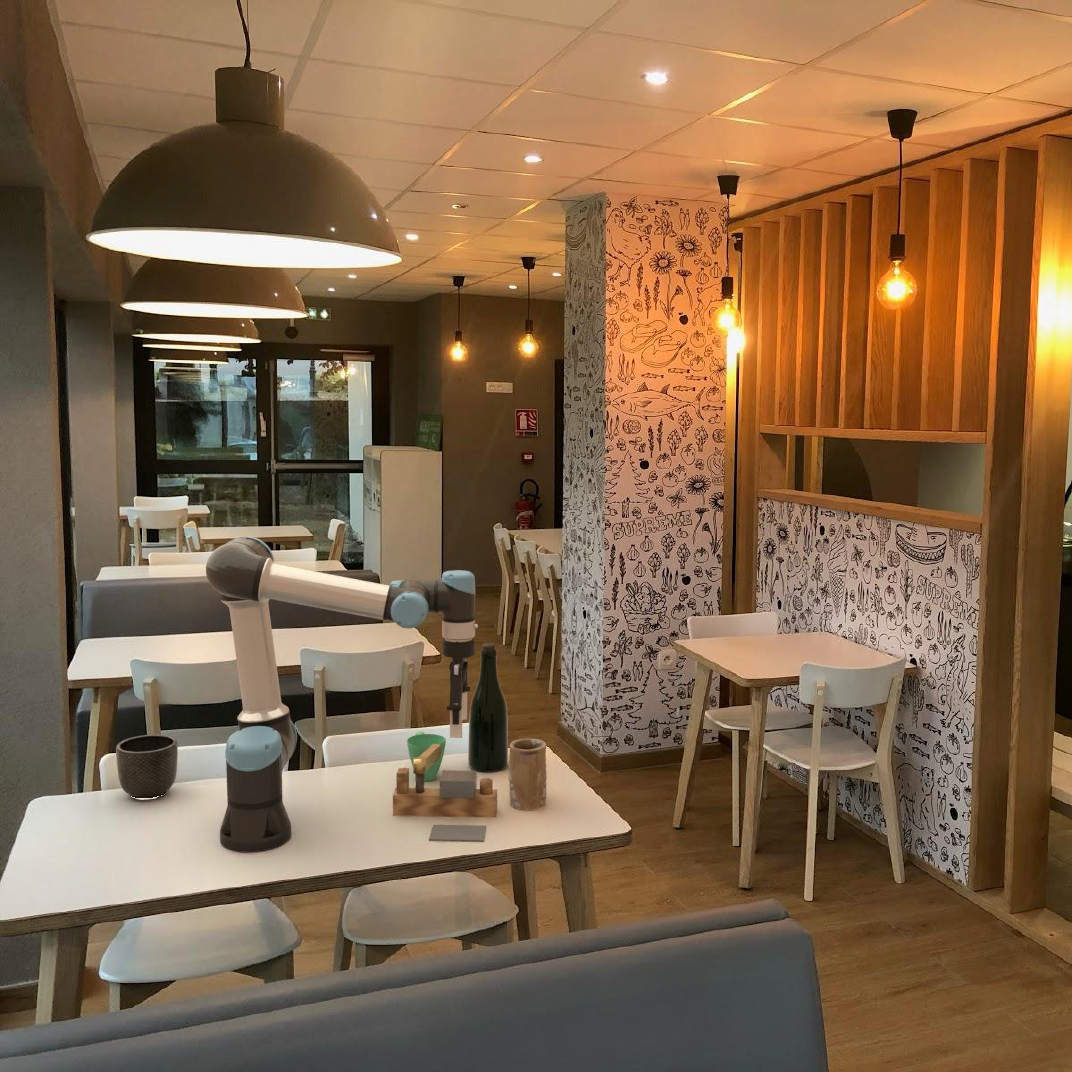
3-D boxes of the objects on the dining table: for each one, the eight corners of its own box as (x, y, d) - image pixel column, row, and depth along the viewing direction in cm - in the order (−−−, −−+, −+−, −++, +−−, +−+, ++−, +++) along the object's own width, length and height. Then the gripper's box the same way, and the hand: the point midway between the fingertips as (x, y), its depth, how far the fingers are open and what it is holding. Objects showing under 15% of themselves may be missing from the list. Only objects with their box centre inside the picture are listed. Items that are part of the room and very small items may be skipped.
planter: (143, 810, 241) (141, 756, 240) (105, 797, 249) (103, 745, 247) (191, 791, 253) (189, 740, 252) (153, 780, 261) (152, 730, 259)
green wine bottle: (467, 773, 268) (468, 648, 264) (468, 759, 279) (469, 639, 275) (507, 773, 269) (509, 648, 265) (507, 759, 279) (508, 639, 275)
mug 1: (449, 782, 262) (449, 744, 260) (411, 786, 259) (411, 747, 257) (436, 763, 275) (436, 726, 274) (400, 766, 272) (400, 730, 271)
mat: (428, 840, 226) (428, 839, 226) (433, 826, 234) (433, 824, 234) (483, 841, 226) (483, 840, 226) (486, 827, 234) (486, 825, 234)
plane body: (392, 815, 240) (392, 774, 239) (395, 807, 244) (395, 767, 243) (496, 817, 240) (496, 775, 238) (497, 809, 244) (497, 768, 243)
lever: (423, 775, 239) (423, 761, 239) (411, 774, 240) (411, 760, 239) (442, 756, 252) (442, 743, 252) (431, 755, 253) (431, 742, 252)
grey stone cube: (439, 797, 238) (439, 780, 237) (442, 786, 245) (442, 770, 244) (474, 798, 238) (474, 781, 237) (476, 787, 245) (476, 770, 244)
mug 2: (520, 813, 242) (521, 751, 240) (494, 795, 253) (494, 736, 251) (553, 806, 247) (554, 745, 245) (525, 789, 257) (526, 730, 256)
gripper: (470, 651, 224) (470, 745, 227) (479, 626, 249) (478, 712, 252) (436, 650, 224) (436, 745, 227) (447, 626, 249) (448, 712, 252)
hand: (458, 728), depth 239 cm, fingers open, 13 cm apart
